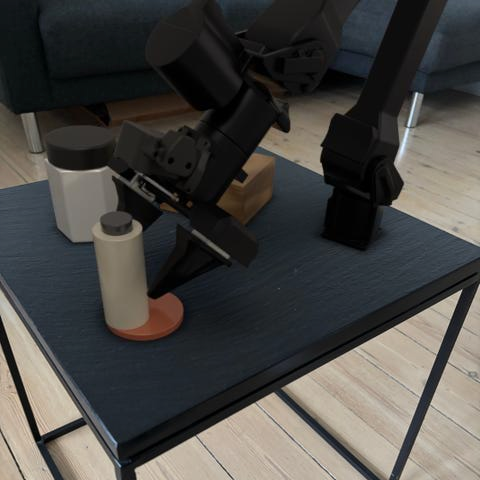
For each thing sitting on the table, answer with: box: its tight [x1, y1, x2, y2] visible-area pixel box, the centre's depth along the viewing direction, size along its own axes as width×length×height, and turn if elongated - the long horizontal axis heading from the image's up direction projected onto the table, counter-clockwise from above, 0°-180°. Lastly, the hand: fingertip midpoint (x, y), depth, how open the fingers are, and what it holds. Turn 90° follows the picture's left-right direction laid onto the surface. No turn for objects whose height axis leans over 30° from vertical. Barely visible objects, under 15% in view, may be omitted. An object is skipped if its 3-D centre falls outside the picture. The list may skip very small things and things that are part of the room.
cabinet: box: [159, 152, 276, 226], centre depth 73 cm, size 13×12×6 cm
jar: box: [43, 125, 120, 244], centre depth 64 cm, size 9×8×12 cm
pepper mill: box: [92, 211, 149, 330], centre depth 49 cm, size 4×4×11 cm
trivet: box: [105, 287, 185, 342], centre depth 53 cm, size 8×8×1 cm
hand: (128, 276), depth 50 cm, fingers open, 8 cm apart
